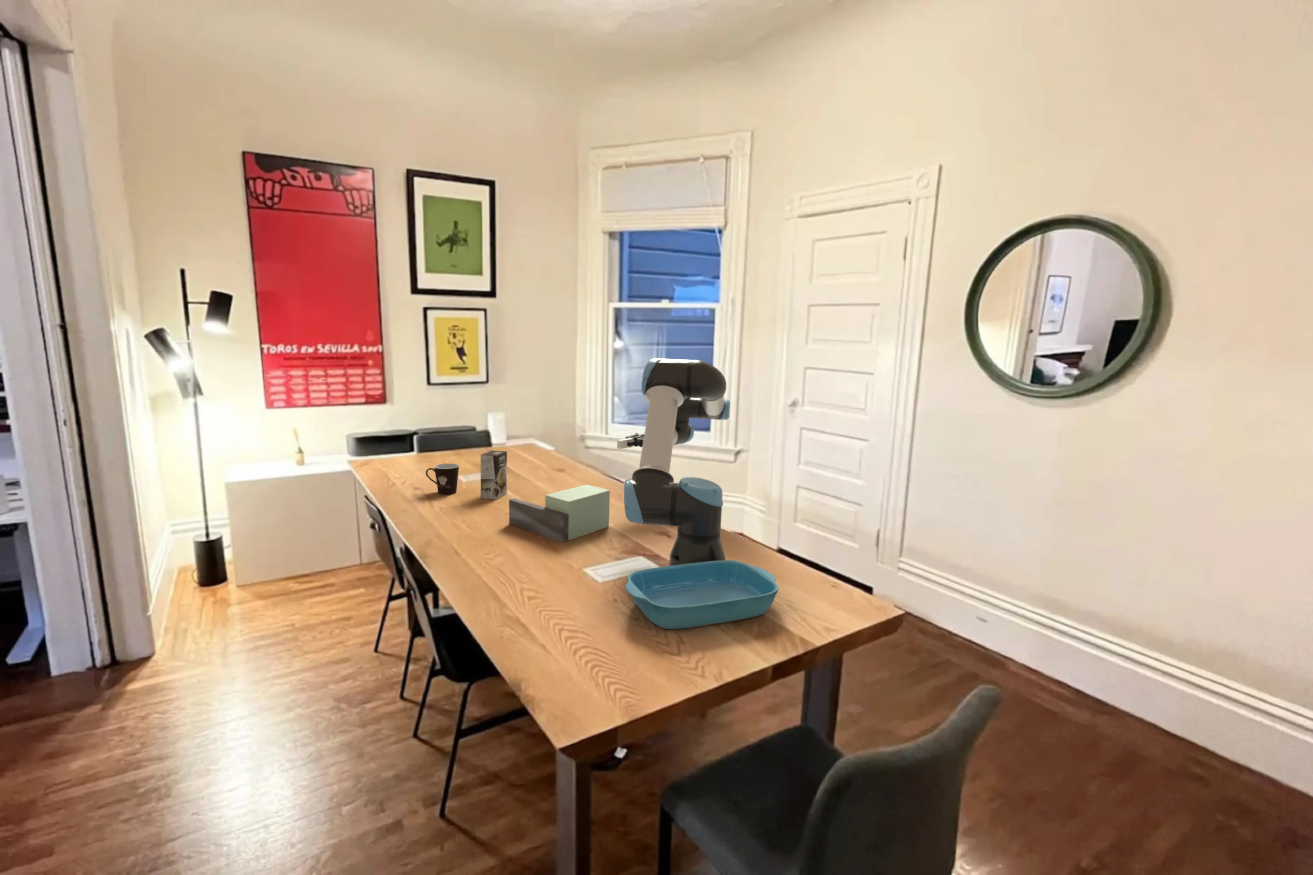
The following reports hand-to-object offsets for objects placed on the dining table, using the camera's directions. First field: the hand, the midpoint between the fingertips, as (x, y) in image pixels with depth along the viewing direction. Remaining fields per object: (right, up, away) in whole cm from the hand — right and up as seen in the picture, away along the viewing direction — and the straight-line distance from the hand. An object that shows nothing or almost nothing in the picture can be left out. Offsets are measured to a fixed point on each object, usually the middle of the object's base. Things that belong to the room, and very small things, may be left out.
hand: (618, 444), depth 208 cm
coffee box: (-47, -19, +23) cm, 55 cm away
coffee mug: (-66, -18, +26) cm, 73 cm away
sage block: (-12, -26, -10) cm, 31 cm away
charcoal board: (-24, -27, -14) cm, 38 cm away
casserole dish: (+23, -38, -61) cm, 75 cm away
